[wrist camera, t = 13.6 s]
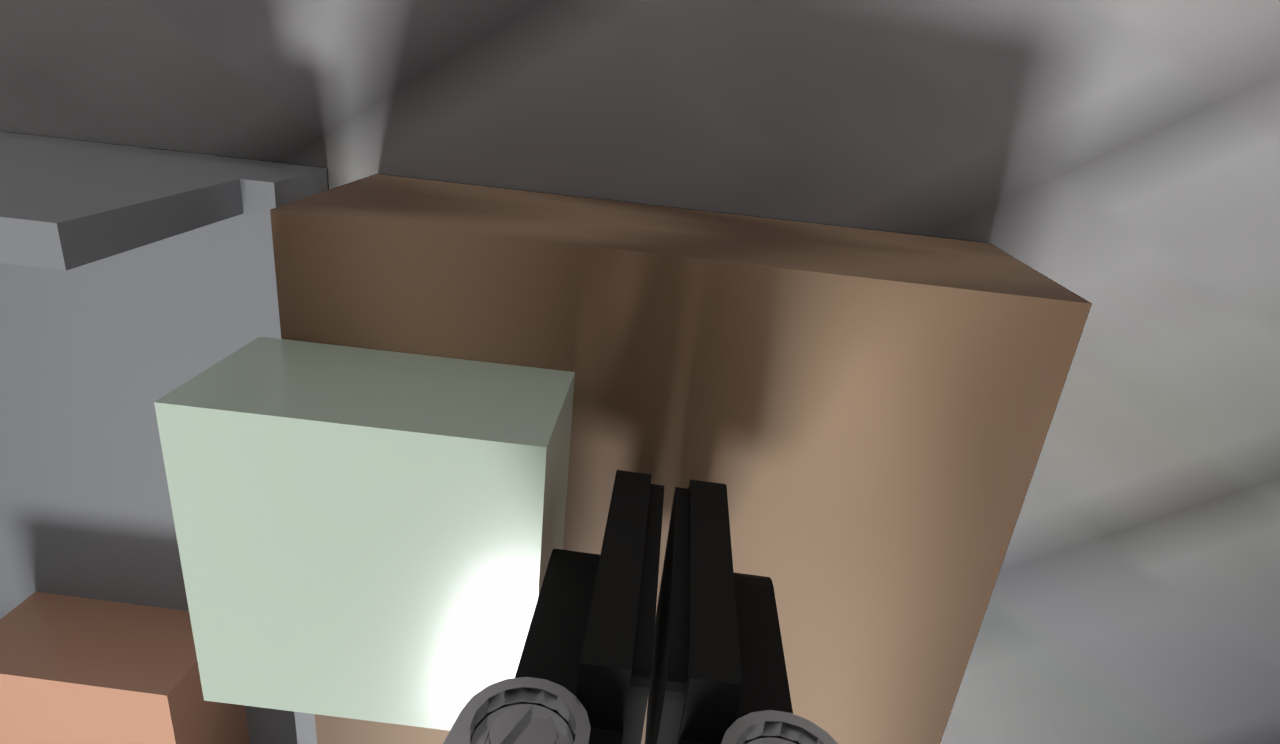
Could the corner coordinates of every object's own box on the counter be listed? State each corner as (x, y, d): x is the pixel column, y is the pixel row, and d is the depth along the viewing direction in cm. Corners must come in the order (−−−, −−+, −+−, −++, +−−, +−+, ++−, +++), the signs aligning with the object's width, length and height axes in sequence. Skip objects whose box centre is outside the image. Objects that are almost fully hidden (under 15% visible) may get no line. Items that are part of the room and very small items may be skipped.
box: (326, 168, 15) (104, 228, 9) (364, 806, 22) (249, 1062, 16) (-214, 107, 15) (-748, 130, 9) (-7, 757, 22) (-246, 991, 16)
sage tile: (575, 372, 12) (546, 447, 9) (557, 625, 14) (530, 740, 11) (259, 336, 12) (154, 402, 9) (286, 593, 14) (203, 700, 11)
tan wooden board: (989, 243, 14) (1091, 303, 11) (813, 866, 21) (838, 1035, 18) (376, 174, 15) (270, 209, 11) (398, 811, 22) (337, 965, 18)
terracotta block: (-59, 665, 16) (35, 591, 19) (-6, 824, 18) (73, 739, 20) (166, 695, 16) (233, 617, 18) (196, 851, 18) (252, 762, 20)
